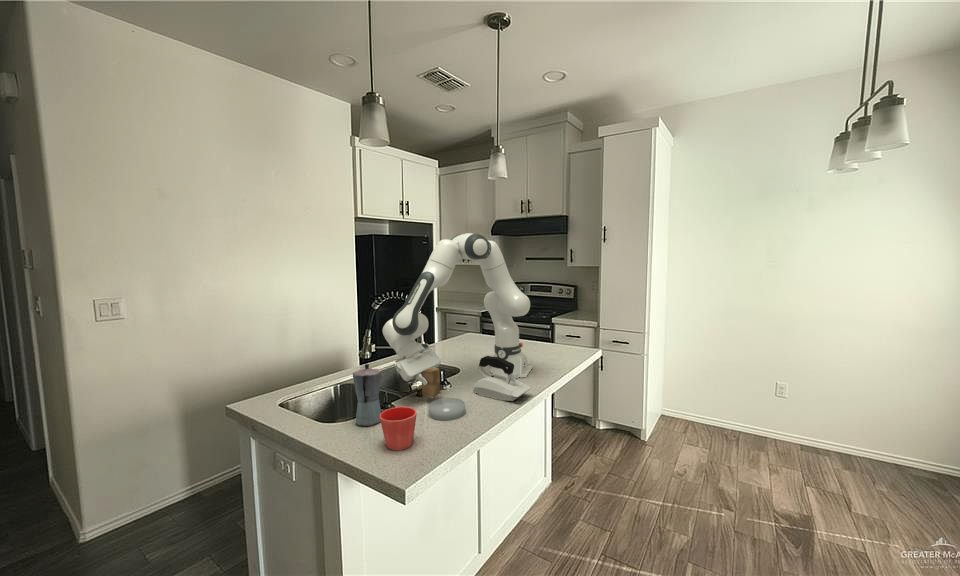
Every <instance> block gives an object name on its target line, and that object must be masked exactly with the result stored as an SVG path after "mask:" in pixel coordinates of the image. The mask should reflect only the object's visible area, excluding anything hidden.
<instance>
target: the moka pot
mask: <svg viewBox="0 0 960 576" xmlns="http://www.w3.org/2000/svg"><path fill="white" fill-rule="evenodd" d="M352 378H353V385H354V389H355V390H354V391H355V395H356V397H357V398H356V399H357V406H356V415H355V423H356V425H358V426H360V427H361V426H363V427H364V426H365V427H369V426H373V425H376V424H378V423H381V421H380V414H381V413H382V410H381V403H380V399H379V398H380V397H379V393H380V392H381V380H382V379H381V378H382V371H381V370H379V369H378V368H372V367H370V364H368V363H366V364H364V369H359V370H356V371H354V372H352Z"/></svg>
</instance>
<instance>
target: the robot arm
mask: <svg viewBox="0 0 960 576" xmlns="http://www.w3.org/2000/svg"><path fill="white" fill-rule="evenodd" d="M460 259H462V260H466V261H468V260H469V261H470V260H475V261H476V260H477V261H478V264H479V266H480V269H481V272H482V275H483V278H484V280H485V283H486V286H488V287H489V289H491V290H492V291H489V292H487V293H486V295H485V296H484V298H483V306H484V309H486V311H487V312H488V313H489V315H490V318H491V320H492V323H493V327H494V329H493V330H494V339H495V344H494V347H493V349H494V354H493V355H492V357H499V358H502V359H505V360H506V361H508V362H511V363H513V364H514V370H513V373H512V376H513V375H514V374H515V373H518V374H521V375H518V377H517V378H516V379H519V377H520V378H527V377H528V376H529V374H530V373H531V371H532V370H533V366H532V365H530V364H528V357H527V355H526V354H525V353H523V352H522V348H523V347H524V344H523V342H520V329H519V326H518V325H517V324H516V322H515V321H514V319H513V317H514V318H515V317H517V318H518V317H523V316H525V315H527V314H528V313H529V311H530V308H531V301H530V298H529V297H528V295H526V294H525V293H523V292H522V291H521V289H519V287H518V286H517V285H516V283H515V281H514V280H513V278H512V277H511V275H510V272H509V269H508V266H507V264H506V261H505V258H504V256H503V253H502V250H501V249H500V247H499V245H498V244H497V242H495V241H494V240H489V239H487V238H486V237H485V236H484V235H482V234H480V233H472V232H469V233H468V232H466V233H459V234H456V235H455V236H453V237H452V238H451V239H448V238H447V239H446V238H445V239H441V240H439V241H438V243H437V244H436V245H435V247H434V249H433V250H432V252H431V254H430V256H429V258H428V260H427V262H426V265H425V266H424V268H423V270H422V272H421V274H420V275H419V277H418V278H417V280H416V281H415V284H414V285H413V287H412V288H411V291H410V293H409V294H408V296H407V298H406V300H405V302H404V303H403V304H402V306H401V307H400V308H399V309H398V310H397V311H396V312H395V313H394V315H393V318H390V319H389V320H387V321H386V322H385V324H384V325H383V327H382V335H383V337H384V339H385V340H386V342H387V343H388V345H389V346H390V347H391V348H392V349H393V350H394V351H395V354H396V356H397V357H398V359H396V360H395V361H394V366H395V368H396V369H397V371H398V373H399V375H400V376H401V378H402V380H403V381H405V382H409V381H411V380H413V379H416V380H417V381H418V382H420V383H421V384H422V383H423V384H424V385H426V384H428V383H429V381H428V379H427V378H426V379H425V378H423V377H422V375H421V372H423V371H424V370H426V369H428V368H430V367H434V368H439V366H440V365H441V363H442V362H441V361H442V360H441V359H440V357H439V355H438V354H437V353H436V352H435V351H434V350H433V349H431V345H430V344H428V343H420V342H417V341H416V339H418V338H420V337H421V336H423V335H424V334H425V333H427V331H428V329H429V326H430V324H429V323H430V322H429V319H428V317H427V316H426V315H425V314H423V313H421V312H420V311H421V309H422V306H423V305H424V303H425V301H426V299H427V297H428V296H429V294H430V293H431V292H432V291H433V290H435V289H437V288H441V287H443V286H445V285H446V284H447V283H448V282H449V280H450V278H451V276H452V274H453V272H454V270H455V268H456V266H457V265H456V264H457V263H458V262H459V260H460ZM531 369H532V370H531ZM529 372H530V373H529ZM489 373H491V374H494V373H499V374H503V375H506V376H508V374H505V373H504V371H503V370H502V369H499V368H494V367H491V368H490V369H489ZM515 375H516V374H515ZM527 375H528V376H527ZM514 377H515V376H514Z"/></svg>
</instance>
